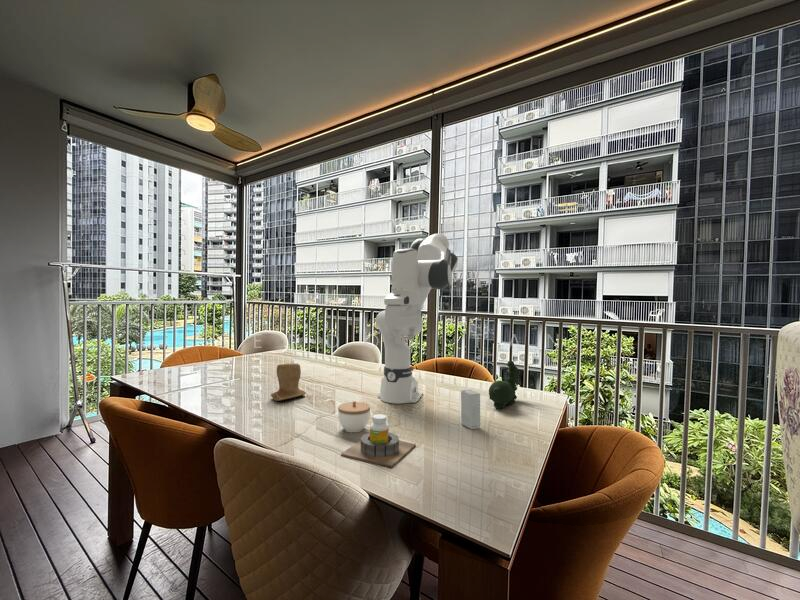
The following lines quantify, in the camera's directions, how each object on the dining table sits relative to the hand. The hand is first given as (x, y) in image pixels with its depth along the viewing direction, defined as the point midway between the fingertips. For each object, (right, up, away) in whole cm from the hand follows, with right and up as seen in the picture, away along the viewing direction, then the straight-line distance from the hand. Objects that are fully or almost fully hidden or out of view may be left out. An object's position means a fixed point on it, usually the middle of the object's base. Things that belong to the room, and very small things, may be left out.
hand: (404, 341), depth 121 cm
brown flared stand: (-51, -29, +41) cm, 72 cm away
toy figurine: (+42, -31, +36) cm, 64 cm away
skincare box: (+23, -31, +10) cm, 40 cm away
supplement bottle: (-8, -30, -12) cm, 34 cm away
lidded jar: (-17, -31, +5) cm, 35 cm away
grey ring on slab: (-7, -31, -12) cm, 34 cm away
